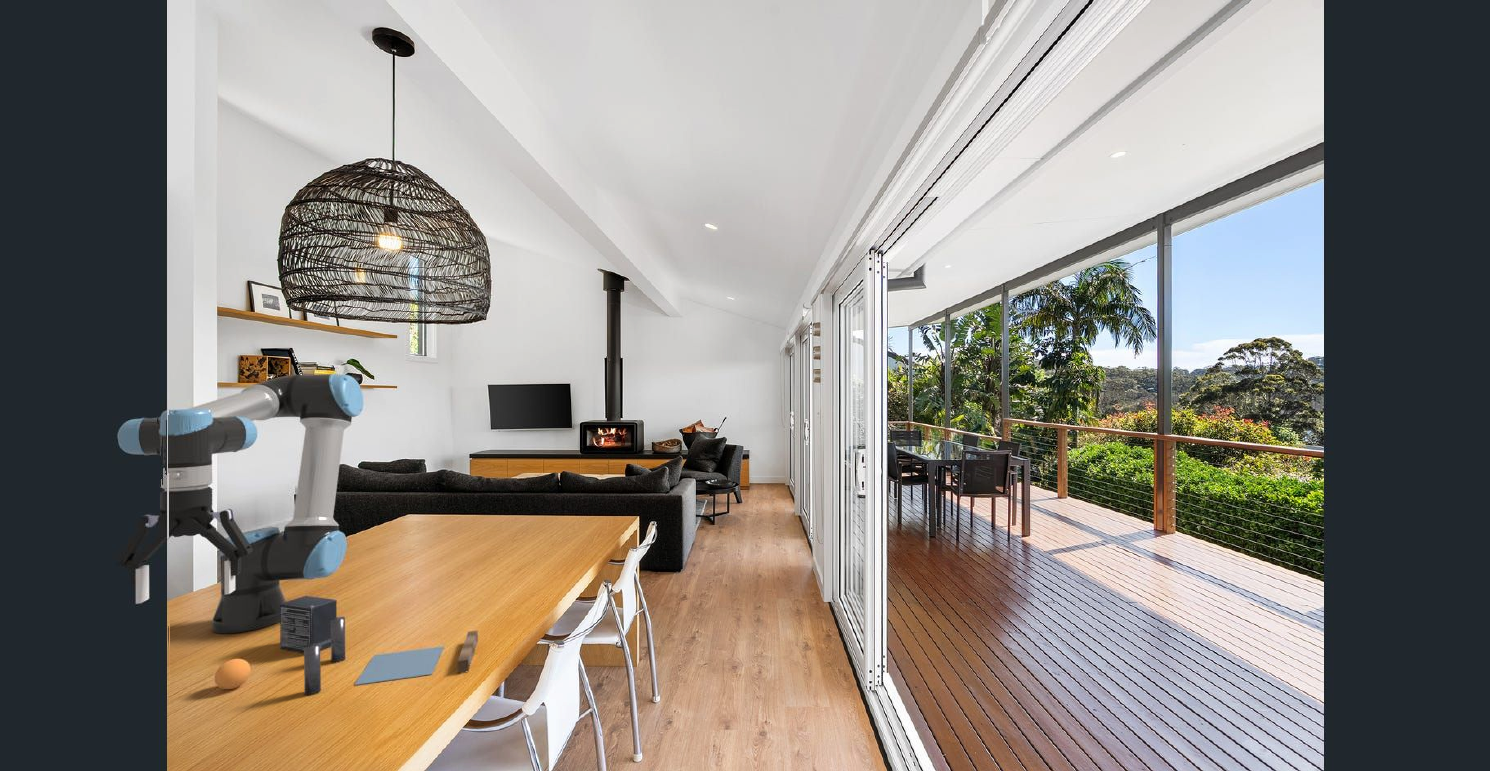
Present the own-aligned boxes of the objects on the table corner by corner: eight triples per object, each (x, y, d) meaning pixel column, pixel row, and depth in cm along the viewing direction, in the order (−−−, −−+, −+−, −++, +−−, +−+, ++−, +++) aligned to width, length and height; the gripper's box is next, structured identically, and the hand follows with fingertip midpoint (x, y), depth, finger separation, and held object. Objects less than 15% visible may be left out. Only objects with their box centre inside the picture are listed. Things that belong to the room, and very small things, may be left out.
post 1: (307, 689, 119) (307, 644, 119) (322, 687, 120) (322, 642, 120) (302, 696, 117) (301, 649, 117) (318, 694, 118) (317, 647, 118)
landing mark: (374, 655, 134) (374, 655, 134) (444, 647, 138) (444, 646, 138) (354, 685, 121) (354, 684, 121) (432, 674, 125) (432, 673, 125)
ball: (223, 683, 122) (223, 656, 122) (256, 679, 124) (255, 652, 124) (208, 696, 117) (208, 668, 117) (242, 691, 119) (242, 663, 119)
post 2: (333, 658, 133) (333, 617, 133) (347, 656, 134) (346, 616, 134) (329, 663, 131) (328, 621, 131) (343, 661, 132) (342, 620, 132)
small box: (339, 643, 141) (338, 598, 141) (311, 655, 135) (310, 608, 135) (307, 637, 145) (306, 594, 145) (278, 649, 139) (278, 603, 139)
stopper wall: (468, 642, 141) (468, 631, 141) (477, 641, 141) (477, 630, 141) (457, 673, 126) (457, 661, 126) (468, 671, 126) (468, 659, 126)
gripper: (90, 495, 111) (90, 611, 111) (256, 486, 119) (256, 594, 119) (116, 489, 118) (116, 598, 118) (271, 481, 126) (271, 583, 126)
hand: (187, 596), depth 118 cm, fingers open, 13 cm apart
